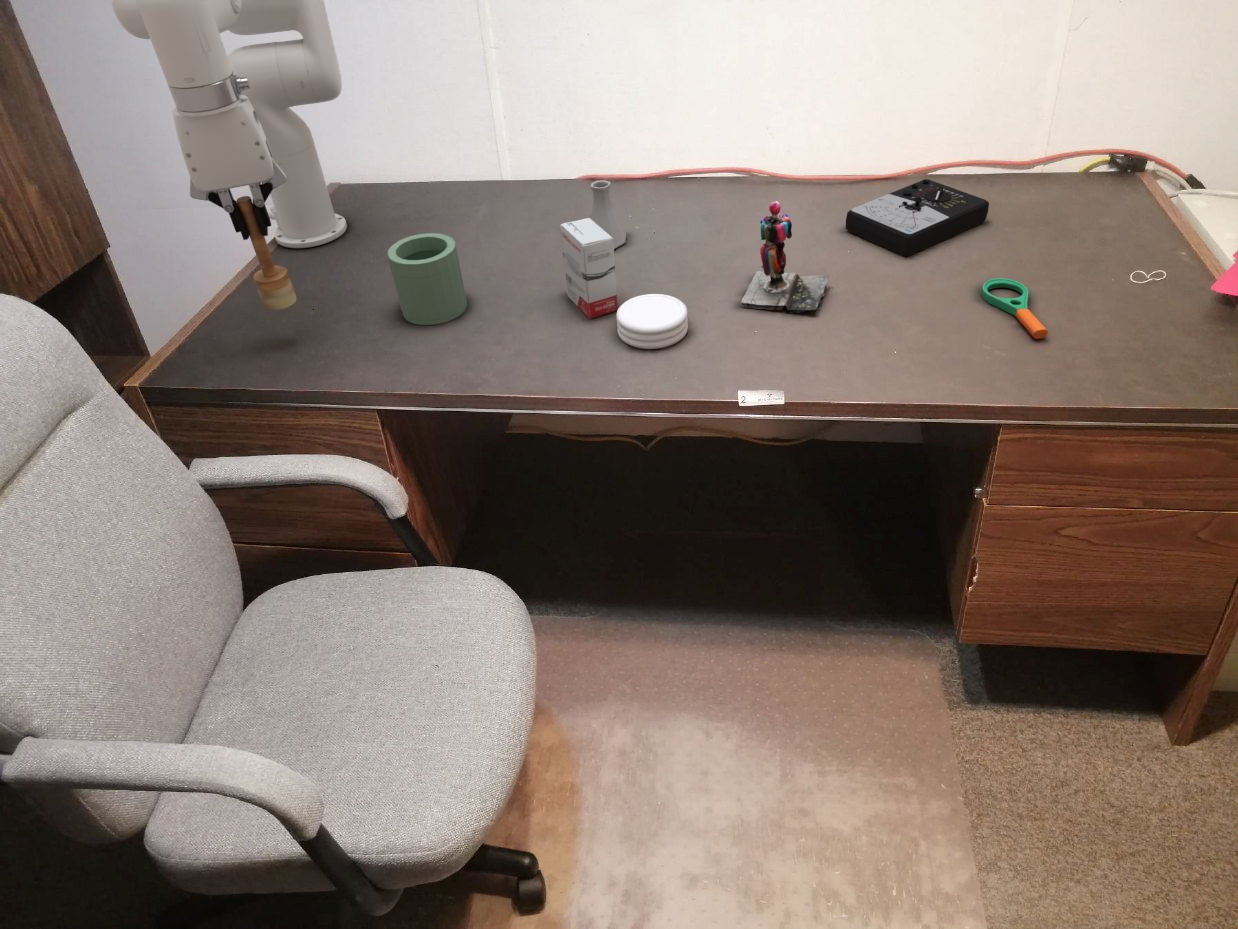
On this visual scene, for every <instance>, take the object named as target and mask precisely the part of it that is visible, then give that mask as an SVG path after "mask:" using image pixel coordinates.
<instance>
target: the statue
mask: <svg viewBox="0 0 1238 929" xmlns="http://www.w3.org/2000/svg"><path fill="white" fill-rule="evenodd" d="M781 209H782V208H781V204H780V202H779V201H778V200H775V201H772V202H771V203H770V204H769V207H768V210H769V212H770V215H766V216H764V217H763V218H761V219H760V240H761V241H765V242H764V243H763V244H761V246H760V248H759V252H760V259H761V263H762V265H761V268H762V270H763V271H760V270H756V272H755V273H754V276H753V278H752V279H751V282H750V283H749V286H748V287H747V289H746V291H745V293H744V295H743V297H742V299H741V300H740V303H741V305H740V308H746V309H748V308H752V309H755V310H763V309H765V310H770V311H771V310H775V311H781V310H783V309H784V307H786V309H787V314H795V313H796V314H799V313H804V312H806V311H810V313H812V312H813V310H817V308H818V306H819V304H821V303H822V302H823V301H822V300H821V298H822V297H825V294H826V292H824V291H825V288H826V286H828V281H829V278H830V275H829V274H827V275H826V274H820V275H819V274H818V275H805V276H804V275H803V276H800V275H799V274H798V272H785V268H786V265H787V255H786V253H785V251H784V248H785V246H786V244H785V241H787V240H788V239H789V240H790V239H791V238H792V237H793V234H792V226H793V223H792V221H791V219H790V218H789V216H788V214H787V213H785V214H783V215H782V216H781V214H780V212H781Z"/></svg>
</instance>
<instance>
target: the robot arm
mask: <svg viewBox="0 0 1238 929" xmlns="http://www.w3.org/2000/svg"><path fill="white" fill-rule="evenodd" d="M110 1H111V2H110V3H111V5H112V9H113V12H114V14H115V16H116V18H117V20H118V22H119V23H120V25H121V26H122V28H124V30H125V31H126V32H128V34H130V35H132V36H133V37H135V38H137V39H144V40H150V42H151V45H152V48H153V49H154V52H155V55H156V58H157V60H158V63H159V65H160V68H161V71H162V73H163V76H164V78H165V82H166V84H167V86H168V89H169V91H170V94H171V96H172V99H173V103H174V105H175V106H174V108H172V115H173V116H172V117H173V122H174V127H175V131H176V136H177V139H178V142H179V146H180V149H181V153H182V156H183V159H184V163H185V166H186V169H187V171H188V174H189V177H190V178H189V179H190V180H189V196H190V198H191V199H194V200H198V201H205V202H207V201H208V202H210V203H212V204H214V205H215V206H218V207H219V208H221V209H222V210H224V211H225V213H228V215H229V217H230V221H231V222H232V226H233V228H234V231H235V233H240V234H241V237H242V240H243V241H246V240H248V239H250V236H249V233H248V231H247V228H246V225H245V222H244V219H243V217H242V214H241V211H240V209H239V206H238V203H237V200H235V198H234V196H233V192H232V190H231V189H235V188H240V187H246V186H248V188H249V191H250V193H251V196H252V203H253V211H254V214H255V217H256V220H257V223H258V226H259V228H260V231H261V234H262V236H263V235H264V237H268V236H269V228H268V227H272V222H271V220H274V221H275V222H276V225H277V228H275V230H274V233H273V234H274V235H273V236H274V239H275V242H276V243H277V244H278V245H279V246H282V247H284V248H289V249H307V248H314V247H318V246H321V245H325V244H328V243H330V242H333V241H335V240H336V239H338V238H339V237H341V236H342V235H344V233H345V232H346V231H347V228H348V224H347V221H346V219H345V217H344V216H342V215H341V214H338V213H335V210H334V206H333V204H332V200H331V197H330V192H329V190H328V186H327V182H326V180H325V176H324V172H323V168H322V165H321V161H320V158H319V155H318V151H317V148H316V144H315V141H314V137H313V134H312V132H311V129H310V128H309V126H308V124H307V123H306V122H305V121H304V119H303V118H302V117H301V116H300V115H298V114H297V113H296V112H295V111H294V110H292V108H293V107H297V106H305V105H313V104H319V103H326V102H331V101H334V100H335V99H338V97H339V96H340V95H341V92H342V89H343V88H342V87H343V83H342V82H343V81H342V74H341V70H340V64H339V61H338V57H337V52H336V47H335V44H334V39H333V36H332V31H331V30H332V29H331V26H330V22H329V18H328V14H327V9H326V5H325V2H324V0H110ZM226 31H229V32H230V33H231V34H234V35H239V36H255V35H265V34H274V33H282V32H291V31H296V32H298V33H300V35H301V36H302V38H300V39H299V38H298V39H292V40H284V41H283V40H282V41H272V42H264V43H255V44H248V45H244V46H240V47H238V48H236V49H233V50H232V51H230V53H229V54H227V51H226V49H225V46H224V43H223V41H222V37H221V34H222V33H224V32H226ZM269 197H270V198H271V201H272V204H270V207H269V208H270V210H268V209H267V207H266V201H267V200H268V198H269Z"/></svg>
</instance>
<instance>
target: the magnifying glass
mask: <svg viewBox="0 0 1238 929" xmlns="http://www.w3.org/2000/svg"><path fill="white" fill-rule="evenodd" d="M981 287H982V288H981V297H982V299H983V300H984V301H985V302H987V303H988V304H990V305H992V306H994V307H996V308H998V309H1000V310H1002V311H1004V312H1006V313H1009V314H1010V315H1012V316H1014V317H1015V318H1016V319H1017V320H1018V321H1019V322H1020V323H1021V324H1022V326H1023V327H1024V328H1025V329H1026V330H1027V332H1028V333H1029V334H1030V335H1031V336H1032V337H1033V338H1034V339H1044V338H1045V337H1047V335H1048V333H1049V330H1048V329H1047V328H1046V326H1044V325H1043V324H1042V323H1041V321H1040V320H1038V318H1037V316H1035V315H1034V314H1033V313H1032V312H1031V310H1030V309H1029V308H1028V303H1029V302H1028V301H1029V289H1028V287H1026V285H1024V284H1023V283H1021V282H1019V281H1017V280H1014V279H1010V278H1002V277H1001V278H998V277H997V278H991V279H988V280H986V281H985V282H984V283H983V284H982V286H981ZM997 288H999V289H1000V288H1005V289H1006V288H1007V289H1011V290H1014V291H1017V292H1019V293H1020V296H1018V297H1012V298H1009V297H1008V298H1007V297H1001V296H1000V297H999V296H996V295H994V294H991V293H990V292H989V291H990V290H992V289H997Z"/></svg>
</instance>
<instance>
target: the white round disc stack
mask: <svg viewBox="0 0 1238 929" xmlns="http://www.w3.org/2000/svg"><path fill="white" fill-rule="evenodd" d="M688 314H689V313H688V308H687V306H686V304H685V303H684V302H683V301H681V300H680V299H679V298H676V297H675V296H672V295H668V294H662V293H648V294H642V295H638V296H634V297H631V298H629V299H627V300H626V301H624V302H623V303H621V305H620V306H619V307H618V310H617V311H616V315H615V318H616V327H617V328H616V331H617V334H618V337H619V339H620V340H621V341H622V342H624V343H625V344H627V345H629V346H631V347H634V348H638V349H644V350H657V349H663V348H667V347H670V346H673V345H675V344H676V343H678V342H679V341H681V340H682V339H683V338H685V336H686V334H687V332H688V329H689V325H688V324H689V323H688V322H689V318H688Z"/></svg>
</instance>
